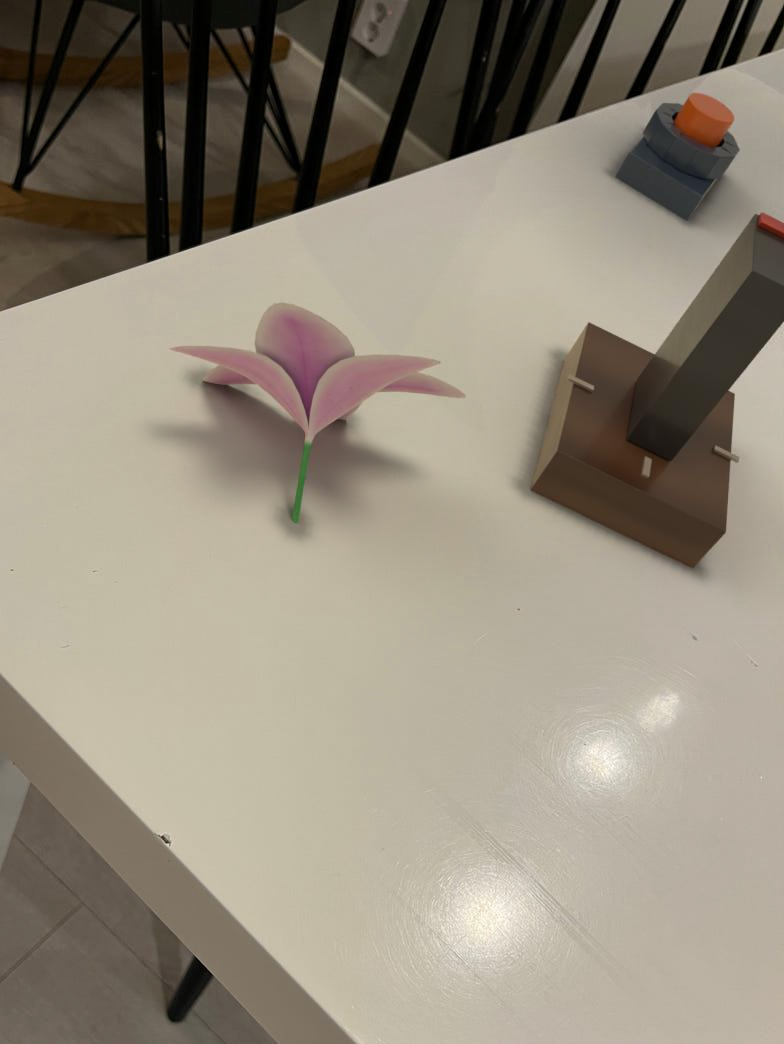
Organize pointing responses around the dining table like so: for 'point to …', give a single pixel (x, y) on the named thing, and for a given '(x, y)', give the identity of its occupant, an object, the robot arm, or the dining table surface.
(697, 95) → the button
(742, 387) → the dining table surface
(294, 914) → the dining table surface
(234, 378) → the lily
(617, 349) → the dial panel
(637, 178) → the button box
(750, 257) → the open box
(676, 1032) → the dining table surface
